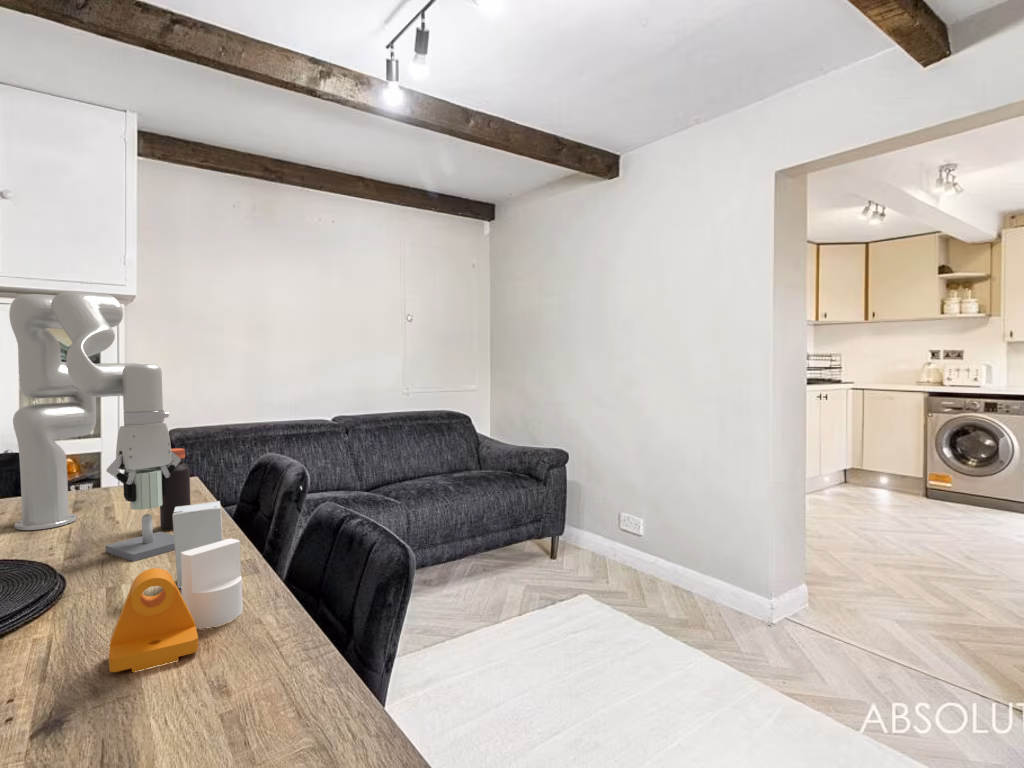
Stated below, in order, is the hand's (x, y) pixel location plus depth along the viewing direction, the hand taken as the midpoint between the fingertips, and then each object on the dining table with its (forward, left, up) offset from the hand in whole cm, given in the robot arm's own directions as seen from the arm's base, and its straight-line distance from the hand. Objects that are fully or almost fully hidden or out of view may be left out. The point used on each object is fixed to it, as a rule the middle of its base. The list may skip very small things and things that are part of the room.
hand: (146, 497), depth 131 cm
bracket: (+51, -25, -12) cm, 58 cm away
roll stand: (0, 0, -12) cm, 12 cm away
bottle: (-12, +13, -12) cm, 22 cm away
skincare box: (+29, -5, -12) cm, 32 cm away
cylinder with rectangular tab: (+46, -13, -12) cm, 49 cm away
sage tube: (0, 0, -2) cm, 2 cm away
